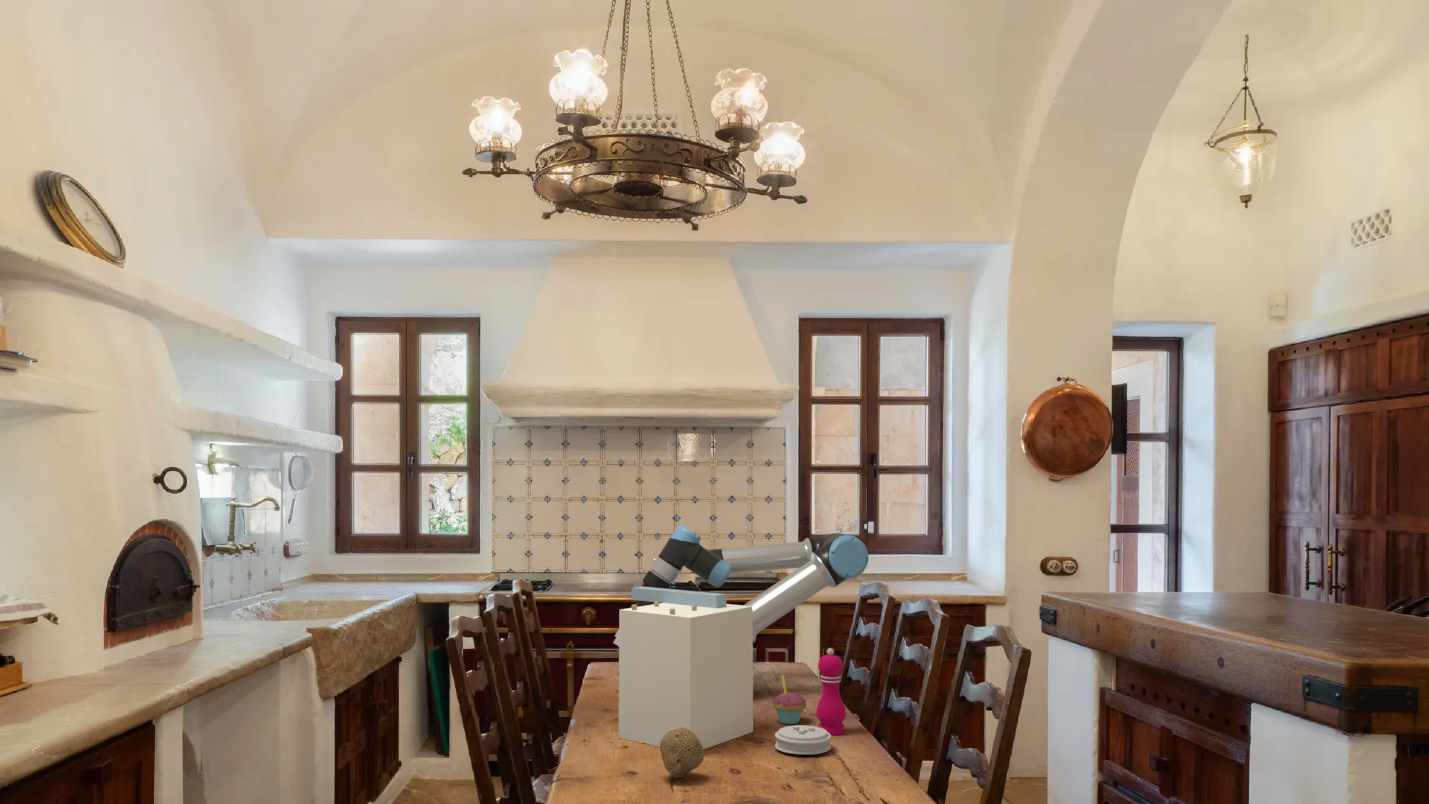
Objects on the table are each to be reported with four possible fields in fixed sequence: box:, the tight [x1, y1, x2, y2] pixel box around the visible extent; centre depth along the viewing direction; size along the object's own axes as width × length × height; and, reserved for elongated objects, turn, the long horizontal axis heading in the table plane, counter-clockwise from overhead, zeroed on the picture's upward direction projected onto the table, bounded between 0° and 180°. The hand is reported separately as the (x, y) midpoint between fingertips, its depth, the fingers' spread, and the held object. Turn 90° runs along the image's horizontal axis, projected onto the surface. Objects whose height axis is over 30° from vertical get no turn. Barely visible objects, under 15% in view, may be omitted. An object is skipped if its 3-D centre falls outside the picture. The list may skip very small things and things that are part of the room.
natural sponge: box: [659, 727, 705, 779], centre depth 199 cm, size 9×9×10 cm
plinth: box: [618, 601, 754, 750], centre depth 233 cm, size 22×24×31 cm
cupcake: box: [771, 672, 807, 725], centre depth 244 cm, size 9×8×12 cm
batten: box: [631, 586, 727, 608], centre depth 244 cm, size 28×4×3 cm, turn 52°
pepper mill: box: [815, 647, 847, 736], centre depth 235 cm, size 7×7×20 cm
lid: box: [774, 724, 832, 755], centre depth 219 cm, size 13×13×5 cm
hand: (618, 642), depth 267 cm, fingers open, 13 cm apart
